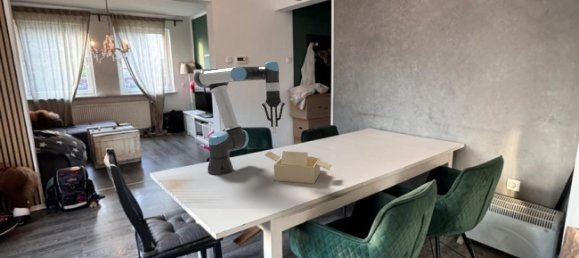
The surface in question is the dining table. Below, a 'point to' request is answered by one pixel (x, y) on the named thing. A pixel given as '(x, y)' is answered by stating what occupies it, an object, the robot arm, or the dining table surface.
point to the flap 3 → (324, 164)
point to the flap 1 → (272, 156)
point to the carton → (297, 172)
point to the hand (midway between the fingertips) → (274, 132)
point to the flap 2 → (294, 158)
